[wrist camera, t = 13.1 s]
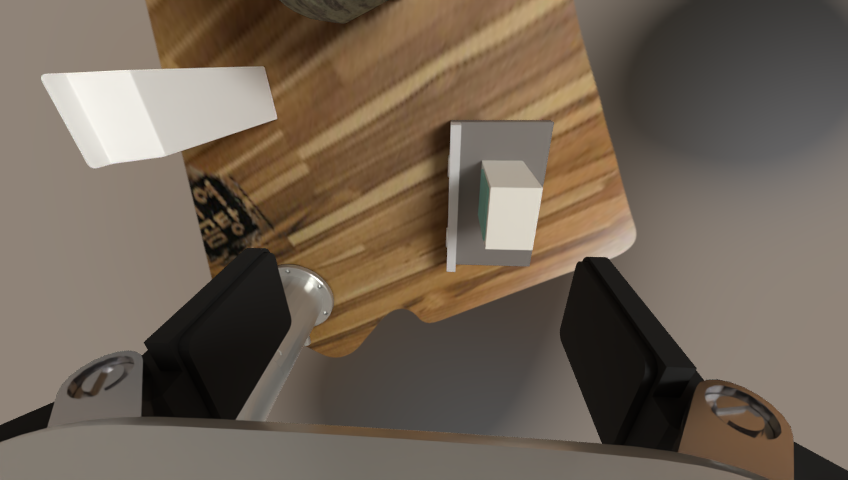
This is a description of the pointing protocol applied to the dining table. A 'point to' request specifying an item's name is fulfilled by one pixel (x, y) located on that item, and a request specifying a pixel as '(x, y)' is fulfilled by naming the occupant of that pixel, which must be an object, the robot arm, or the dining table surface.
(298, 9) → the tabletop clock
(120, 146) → the milk
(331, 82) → the dining table surface
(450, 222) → the shelf board
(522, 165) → the carton
